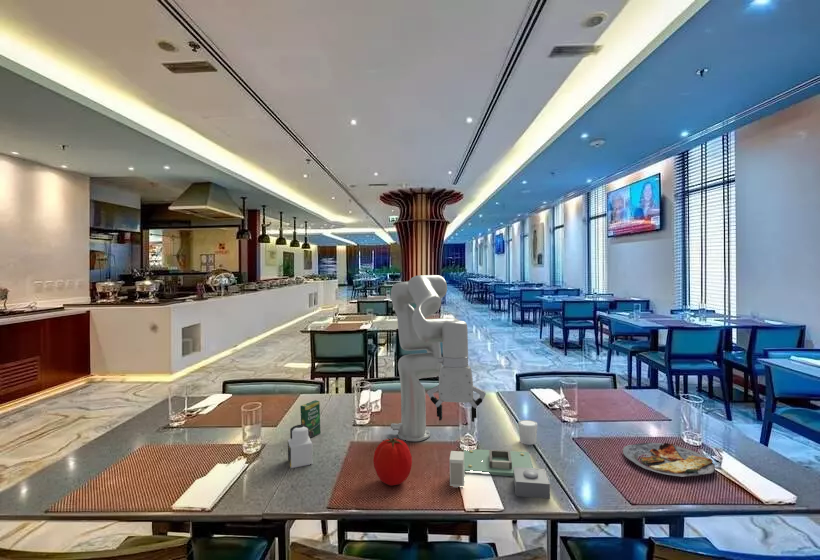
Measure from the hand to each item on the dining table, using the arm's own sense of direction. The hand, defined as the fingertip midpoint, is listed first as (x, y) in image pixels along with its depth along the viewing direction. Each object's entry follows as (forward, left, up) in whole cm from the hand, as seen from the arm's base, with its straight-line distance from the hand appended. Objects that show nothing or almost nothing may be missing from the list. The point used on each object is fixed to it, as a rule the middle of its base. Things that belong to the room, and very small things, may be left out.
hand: (456, 419), depth 120 cm
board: (+12, +14, -19) cm, 26 cm away
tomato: (-19, -3, -19) cm, 27 cm away
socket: (+13, +13, -19) cm, 26 cm away
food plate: (+66, +22, -19) cm, 72 cm away
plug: (0, 0, -19) cm, 19 cm away
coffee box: (-59, +28, -19) cm, 68 cm away
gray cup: (+24, +34, -19) cm, 46 cm away
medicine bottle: (-53, +6, -19) cm, 57 cm away
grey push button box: (+21, -1, -19) cm, 28 cm away
